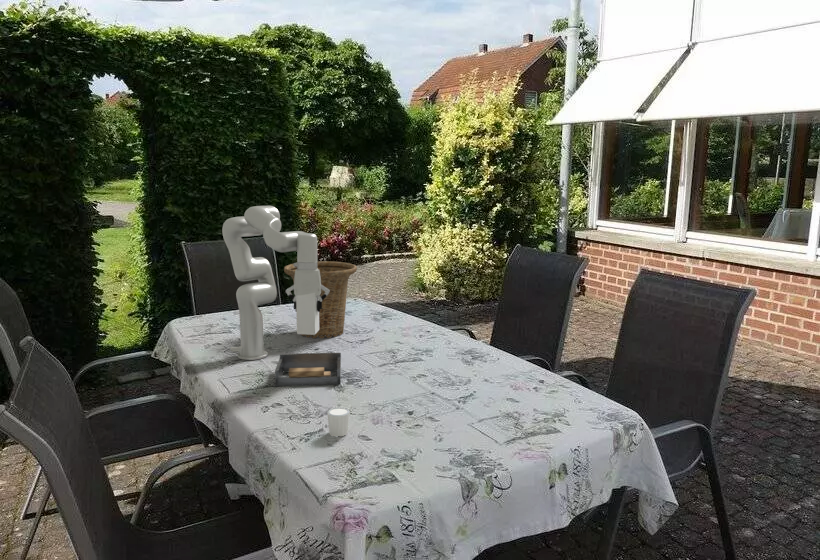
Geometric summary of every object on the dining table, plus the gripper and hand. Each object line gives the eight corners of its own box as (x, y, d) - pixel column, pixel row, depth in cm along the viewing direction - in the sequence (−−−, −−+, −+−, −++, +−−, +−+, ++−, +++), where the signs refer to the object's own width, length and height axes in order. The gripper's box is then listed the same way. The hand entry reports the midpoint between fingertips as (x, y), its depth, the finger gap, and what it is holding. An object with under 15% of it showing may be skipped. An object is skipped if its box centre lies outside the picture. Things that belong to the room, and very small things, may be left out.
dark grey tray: (275, 386, 231) (274, 368, 230) (280, 370, 249) (280, 353, 248) (340, 384, 234) (340, 366, 232) (340, 369, 251) (340, 352, 250)
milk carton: (315, 335, 237) (314, 286, 234) (296, 334, 238) (295, 285, 234) (319, 330, 244) (318, 282, 241) (301, 329, 245) (300, 282, 241)
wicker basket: (371, 330, 312) (371, 265, 307) (326, 346, 283) (325, 274, 278) (318, 321, 331) (316, 259, 325) (270, 335, 302) (268, 267, 296)
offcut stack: (287, 385, 233) (286, 371, 232) (288, 381, 237) (287, 367, 236) (330, 384, 235) (330, 370, 234) (330, 380, 239) (330, 366, 238)
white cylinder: (328, 428, 194) (327, 407, 192) (350, 428, 194) (350, 407, 193) (327, 438, 187) (326, 416, 186) (349, 437, 187) (349, 415, 186)
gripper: (283, 267, 232) (284, 313, 235) (330, 267, 233) (330, 313, 237) (285, 264, 239) (285, 308, 242) (330, 264, 241) (331, 308, 244)
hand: (307, 310), depth 239 cm, fingers closed on milk carton, 8 cm apart
